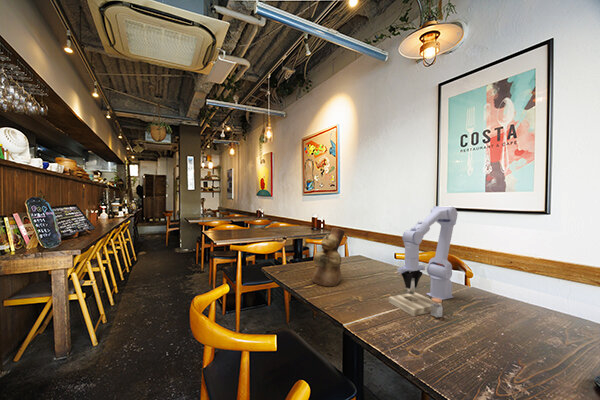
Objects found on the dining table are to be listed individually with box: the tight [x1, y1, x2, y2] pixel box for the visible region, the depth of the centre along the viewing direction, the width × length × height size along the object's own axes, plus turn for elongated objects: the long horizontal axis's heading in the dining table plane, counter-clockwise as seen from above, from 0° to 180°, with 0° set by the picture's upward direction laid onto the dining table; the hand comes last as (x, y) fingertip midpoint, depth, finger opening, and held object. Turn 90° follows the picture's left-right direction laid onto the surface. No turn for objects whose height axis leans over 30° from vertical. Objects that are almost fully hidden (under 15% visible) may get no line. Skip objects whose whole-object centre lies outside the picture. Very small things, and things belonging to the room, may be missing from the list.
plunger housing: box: [429, 304, 443, 318], centre depth 100 cm, size 3×3×4 cm
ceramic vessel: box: [311, 227, 345, 288], centre depth 142 cm, size 16×22×30 cm
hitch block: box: [388, 292, 443, 317], centre depth 111 cm, size 16×14×2 cm
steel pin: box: [406, 277, 416, 294], centre depth 112 cm, size 3×3×7 cm
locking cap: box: [431, 297, 443, 307], centre depth 100 cm, size 4×4×4 cm
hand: (411, 287), depth 112 cm, fingers closed on steel pin, 3 cm apart
